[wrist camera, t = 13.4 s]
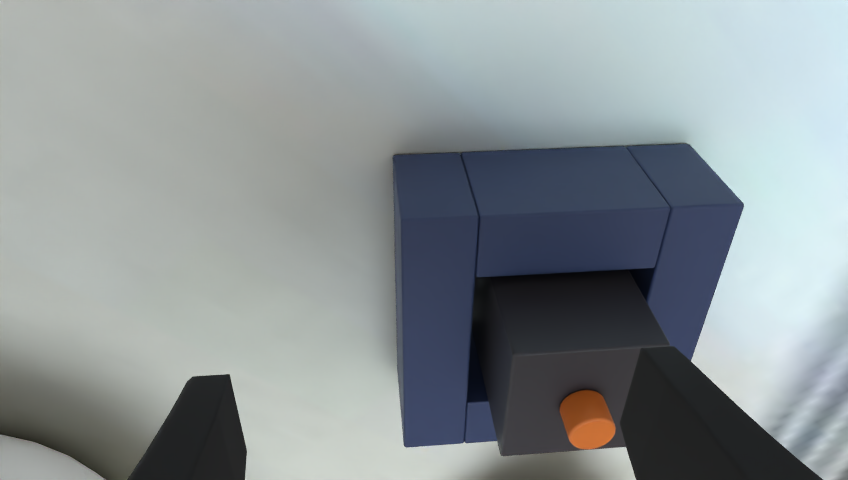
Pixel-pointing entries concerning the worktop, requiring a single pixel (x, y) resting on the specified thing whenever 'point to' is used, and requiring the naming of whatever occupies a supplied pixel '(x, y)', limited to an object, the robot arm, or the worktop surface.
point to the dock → (541, 254)
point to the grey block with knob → (560, 356)
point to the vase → (39, 462)
